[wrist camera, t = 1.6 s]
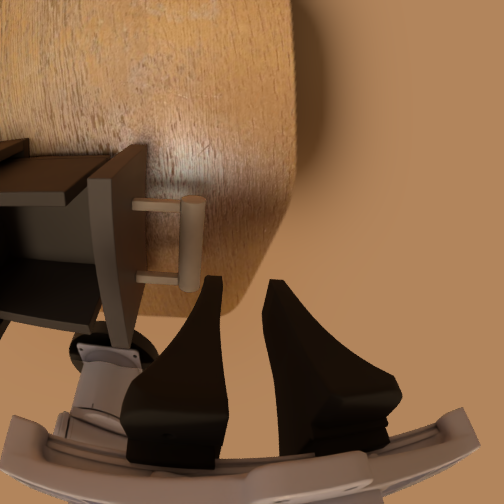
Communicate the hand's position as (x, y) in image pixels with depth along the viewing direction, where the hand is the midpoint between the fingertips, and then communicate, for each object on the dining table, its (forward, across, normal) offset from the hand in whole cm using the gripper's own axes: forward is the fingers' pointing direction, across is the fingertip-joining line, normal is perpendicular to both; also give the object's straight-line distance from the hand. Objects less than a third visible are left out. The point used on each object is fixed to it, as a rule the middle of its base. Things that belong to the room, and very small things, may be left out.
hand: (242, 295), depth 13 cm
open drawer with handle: (+9, +11, +1) cm, 14 cm away
